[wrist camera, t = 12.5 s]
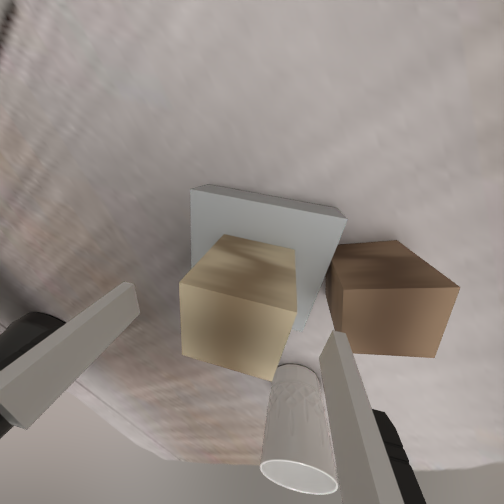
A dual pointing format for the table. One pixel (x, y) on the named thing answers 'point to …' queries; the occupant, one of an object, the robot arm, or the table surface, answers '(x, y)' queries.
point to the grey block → (270, 232)
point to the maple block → (239, 306)
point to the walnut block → (388, 299)
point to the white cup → (298, 434)
